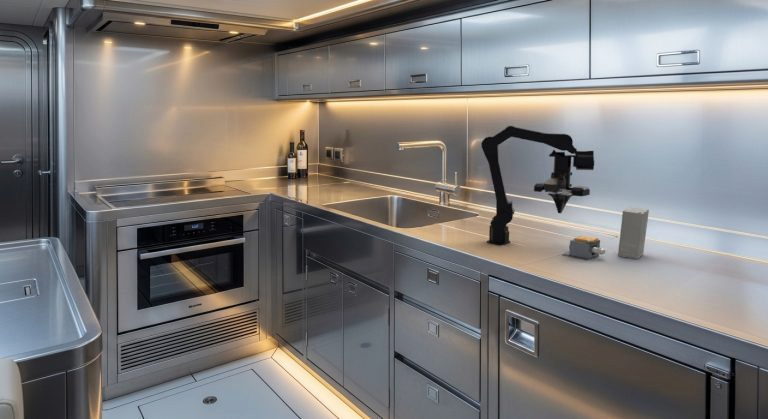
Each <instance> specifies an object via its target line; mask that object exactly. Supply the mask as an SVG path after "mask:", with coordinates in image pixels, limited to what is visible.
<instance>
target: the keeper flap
mask: <svg viewBox="0 0 768 419" xmlns="http://www.w3.org/2000/svg"><path fill="white" fill-rule="evenodd" d="M573 240H577V241H584V242H587V241H588V240H590V242H591V243H592V242H595V241H598V240H599V238H596V237H591V236H583V235H582V236H581V235H579V236H577V237H574V238H573Z"/></svg>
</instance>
